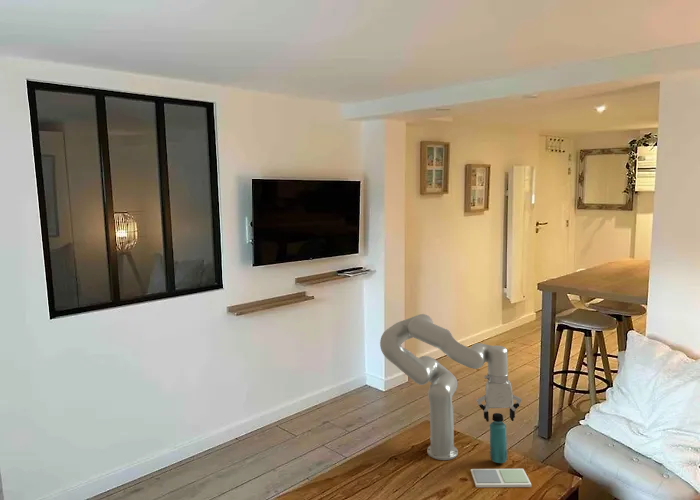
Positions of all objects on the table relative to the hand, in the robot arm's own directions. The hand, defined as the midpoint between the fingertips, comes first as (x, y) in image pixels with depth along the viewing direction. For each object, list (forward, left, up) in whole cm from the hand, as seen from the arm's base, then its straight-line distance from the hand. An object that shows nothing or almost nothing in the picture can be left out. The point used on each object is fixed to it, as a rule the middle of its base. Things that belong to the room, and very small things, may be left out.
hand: (499, 419), depth 205 cm
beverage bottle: (0, 0, -18) cm, 18 cm away
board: (+10, -6, -18) cm, 22 cm away
